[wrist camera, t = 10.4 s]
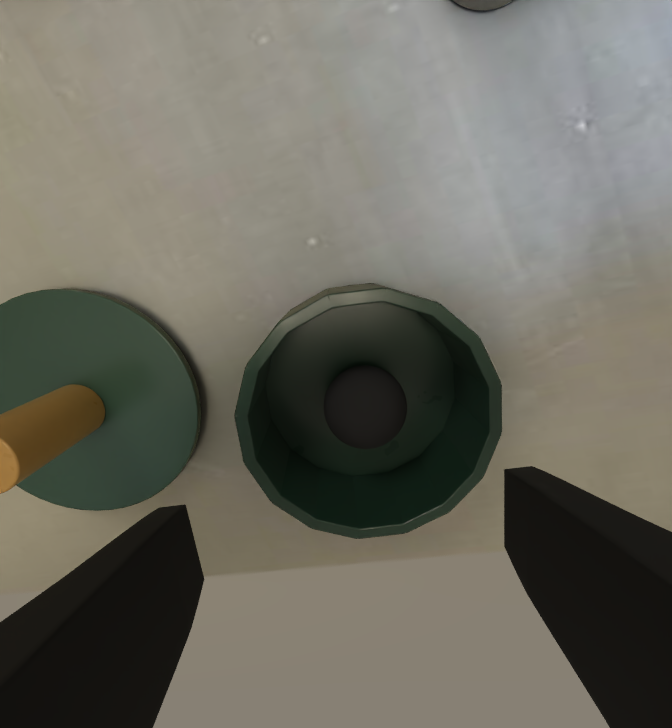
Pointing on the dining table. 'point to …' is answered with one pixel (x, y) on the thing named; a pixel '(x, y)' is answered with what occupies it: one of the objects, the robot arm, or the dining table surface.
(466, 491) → the tin
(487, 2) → the planter
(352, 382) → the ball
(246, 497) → the dining table surface
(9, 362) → the lid
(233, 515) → the dining table surface
